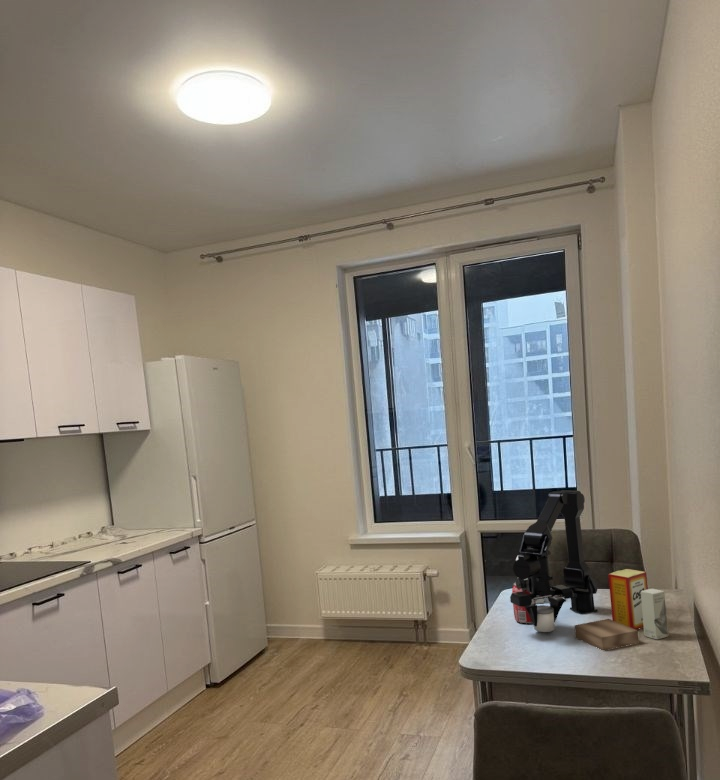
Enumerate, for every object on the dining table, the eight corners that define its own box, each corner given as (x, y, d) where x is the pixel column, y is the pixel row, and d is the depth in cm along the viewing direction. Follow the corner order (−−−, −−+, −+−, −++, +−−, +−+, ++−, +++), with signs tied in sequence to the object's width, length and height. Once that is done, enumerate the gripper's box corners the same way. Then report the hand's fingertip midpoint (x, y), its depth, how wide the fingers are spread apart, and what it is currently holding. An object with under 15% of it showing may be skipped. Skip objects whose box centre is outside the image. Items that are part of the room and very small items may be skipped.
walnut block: (609, 632, 188) (608, 618, 188) (638, 644, 177) (637, 630, 177) (575, 639, 185) (574, 625, 185) (603, 652, 173) (601, 637, 173)
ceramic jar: (547, 624, 195) (545, 604, 195) (559, 629, 189) (557, 609, 189) (529, 627, 193) (528, 607, 193) (541, 633, 187) (539, 612, 187)
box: (657, 640, 178) (652, 594, 179) (643, 636, 182) (639, 591, 183) (669, 636, 180) (665, 590, 181) (656, 632, 184) (651, 587, 185)
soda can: (535, 617, 205) (532, 580, 206) (539, 624, 198) (535, 585, 199) (513, 618, 206) (510, 581, 207) (516, 625, 199) (512, 586, 200)
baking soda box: (631, 619, 197) (626, 567, 198) (651, 624, 192) (646, 570, 193) (613, 626, 192) (608, 573, 193) (632, 631, 187) (627, 576, 188)
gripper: (550, 562, 202) (554, 612, 201) (498, 571, 196) (503, 622, 196) (572, 569, 192) (576, 622, 191) (518, 578, 186) (522, 632, 185)
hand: (544, 624), depth 191 cm, fingers closed on ceramic jar, 6 cm apart
